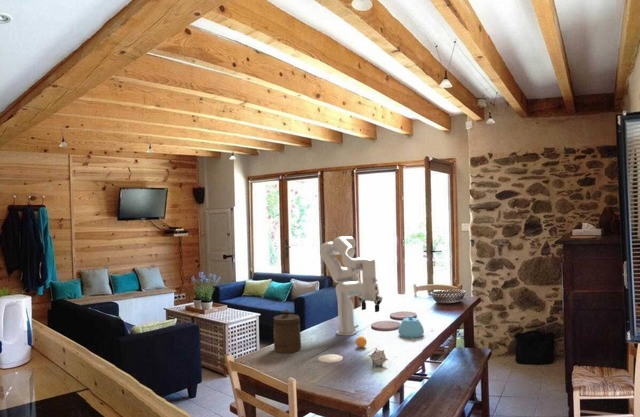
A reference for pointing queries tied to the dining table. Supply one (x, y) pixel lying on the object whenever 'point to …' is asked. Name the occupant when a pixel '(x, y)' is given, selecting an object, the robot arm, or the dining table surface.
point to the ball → (361, 341)
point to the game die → (378, 357)
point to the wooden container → (287, 333)
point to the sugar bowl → (411, 328)
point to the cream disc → (330, 358)
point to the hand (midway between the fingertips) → (370, 310)
